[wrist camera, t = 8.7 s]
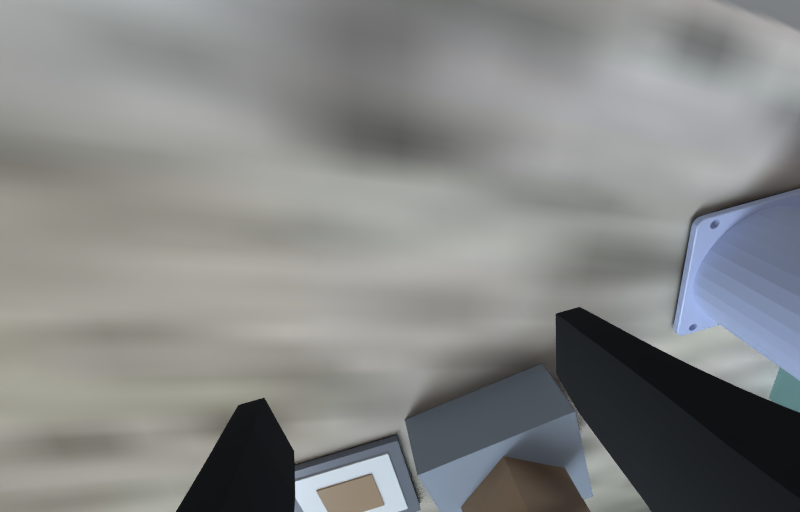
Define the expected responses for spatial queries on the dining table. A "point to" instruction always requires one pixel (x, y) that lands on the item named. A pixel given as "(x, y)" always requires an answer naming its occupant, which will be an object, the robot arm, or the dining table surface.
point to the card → (357, 481)
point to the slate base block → (496, 436)
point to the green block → (786, 391)
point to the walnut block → (525, 489)
